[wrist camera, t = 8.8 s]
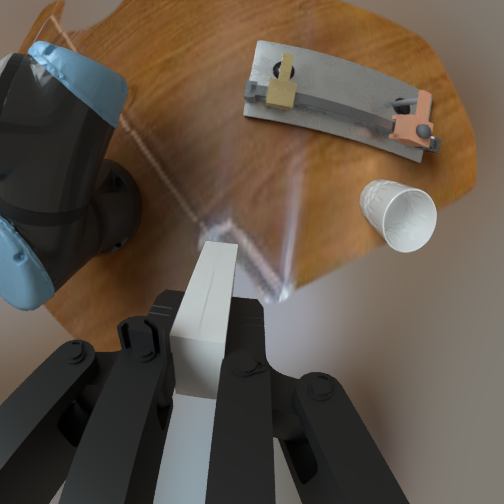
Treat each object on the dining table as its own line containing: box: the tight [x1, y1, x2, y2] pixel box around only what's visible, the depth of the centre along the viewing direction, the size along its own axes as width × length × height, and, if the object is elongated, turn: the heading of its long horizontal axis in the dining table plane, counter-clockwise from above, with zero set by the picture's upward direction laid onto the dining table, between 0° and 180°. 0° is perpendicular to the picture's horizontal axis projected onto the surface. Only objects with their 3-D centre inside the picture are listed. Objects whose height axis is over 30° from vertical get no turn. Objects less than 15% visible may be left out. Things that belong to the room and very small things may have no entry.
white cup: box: [360, 179, 437, 253], centre depth 33 cm, size 8×8×10 cm
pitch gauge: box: [243, 40, 441, 163], centre depth 29 cm, size 26×11×7 cm, turn 80°
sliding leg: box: [389, 90, 433, 148], centre depth 26 cm, size 3×7×9 cm, turn 170°
